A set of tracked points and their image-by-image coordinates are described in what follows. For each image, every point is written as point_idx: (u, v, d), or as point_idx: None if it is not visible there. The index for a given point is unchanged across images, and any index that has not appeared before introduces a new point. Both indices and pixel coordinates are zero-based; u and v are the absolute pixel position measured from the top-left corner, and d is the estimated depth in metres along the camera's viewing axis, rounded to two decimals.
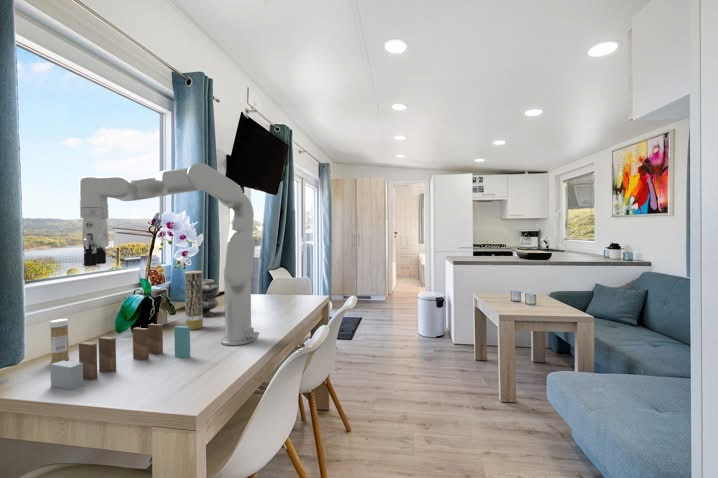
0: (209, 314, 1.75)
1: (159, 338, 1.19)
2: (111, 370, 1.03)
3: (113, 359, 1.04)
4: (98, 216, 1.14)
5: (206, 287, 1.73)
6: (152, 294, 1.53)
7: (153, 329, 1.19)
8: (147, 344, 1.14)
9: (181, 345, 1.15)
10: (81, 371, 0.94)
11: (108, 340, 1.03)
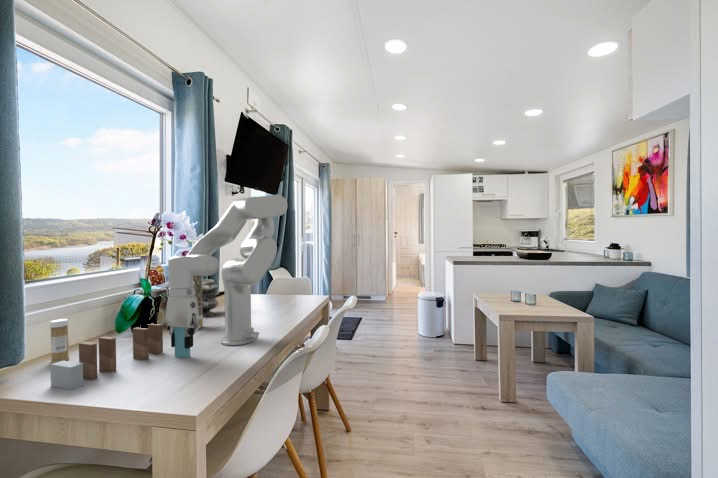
0: (209, 314, 1.75)
1: (159, 338, 1.19)
2: (111, 370, 1.03)
3: (113, 359, 1.04)
4: (193, 295, 1.17)
5: (206, 287, 1.73)
6: (152, 294, 1.53)
7: (153, 329, 1.19)
8: (147, 344, 1.14)
9: (181, 345, 1.15)
10: (81, 371, 0.94)
11: (108, 340, 1.03)
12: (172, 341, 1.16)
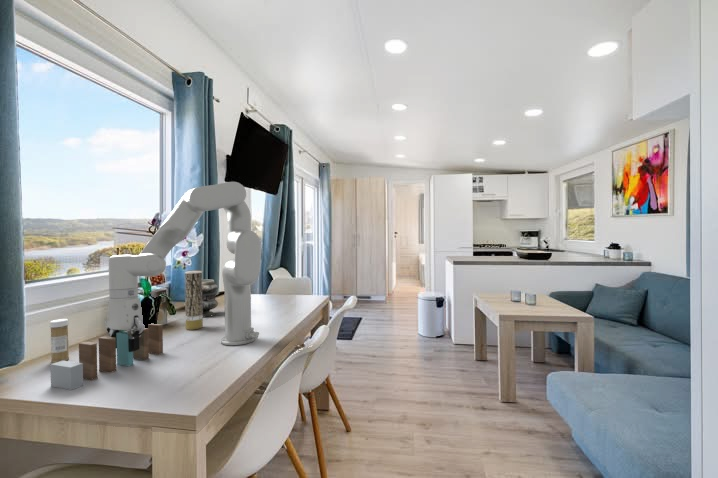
0: (209, 314, 1.75)
1: (159, 338, 1.19)
2: (111, 370, 1.03)
3: (113, 359, 1.04)
4: (137, 296, 1.10)
5: (206, 287, 1.73)
6: (152, 294, 1.53)
7: (153, 329, 1.19)
8: (147, 344, 1.14)
9: (123, 352, 1.09)
10: (81, 371, 0.94)
11: (108, 340, 1.03)
12: None
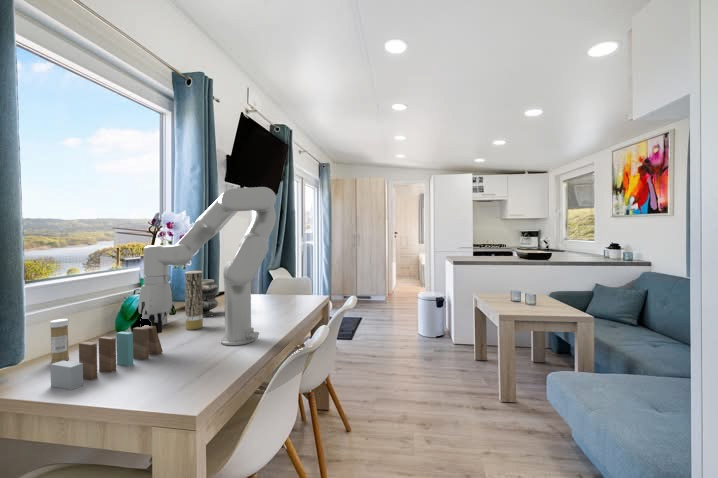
0: (209, 314, 1.75)
1: (155, 340, 1.17)
2: (111, 370, 1.03)
3: (113, 359, 1.04)
4: None
5: (206, 287, 1.73)
6: None
7: None
8: (147, 344, 1.14)
9: (123, 352, 1.09)
10: (81, 371, 0.94)
11: (108, 340, 1.03)
12: (159, 327, 1.20)
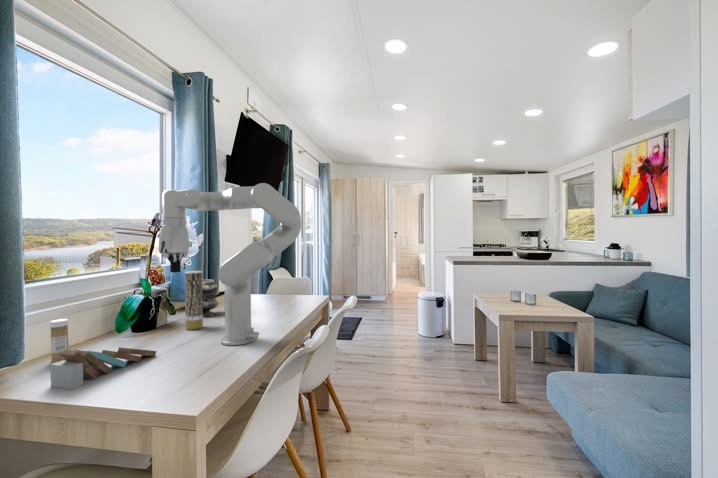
0: (209, 314, 1.75)
1: (141, 353, 1.12)
2: (106, 372, 1.02)
3: (101, 365, 1.00)
4: None
5: (206, 287, 1.73)
6: (152, 294, 1.53)
7: None
8: (129, 355, 1.08)
9: (108, 363, 1.04)
10: (81, 371, 0.94)
11: None
12: (177, 267, 1.29)
